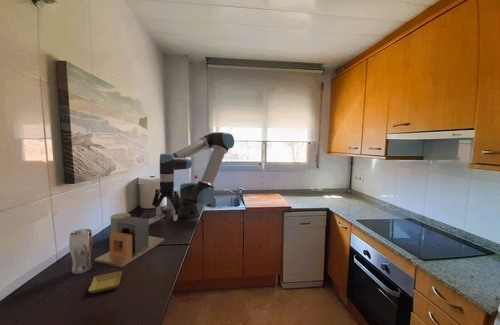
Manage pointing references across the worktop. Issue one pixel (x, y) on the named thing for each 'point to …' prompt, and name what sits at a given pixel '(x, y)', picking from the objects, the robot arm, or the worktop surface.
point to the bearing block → (139, 241)
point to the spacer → (127, 244)
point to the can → (117, 220)
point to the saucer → (105, 282)
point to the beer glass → (81, 250)
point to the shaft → (160, 216)
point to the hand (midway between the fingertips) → (166, 218)
